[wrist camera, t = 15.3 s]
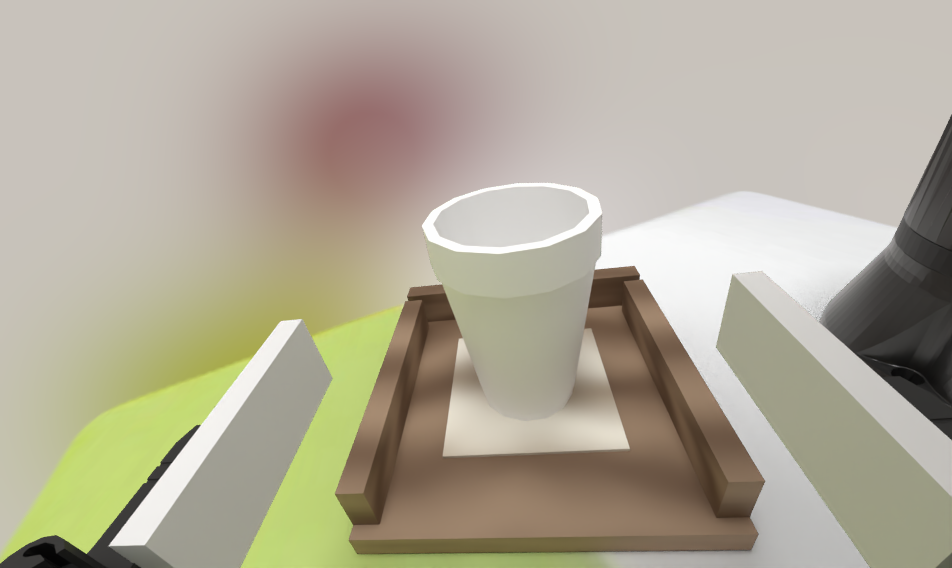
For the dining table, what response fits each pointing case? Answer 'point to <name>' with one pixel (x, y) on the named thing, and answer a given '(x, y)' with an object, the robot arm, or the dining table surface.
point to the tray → (548, 445)
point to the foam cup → (519, 287)
